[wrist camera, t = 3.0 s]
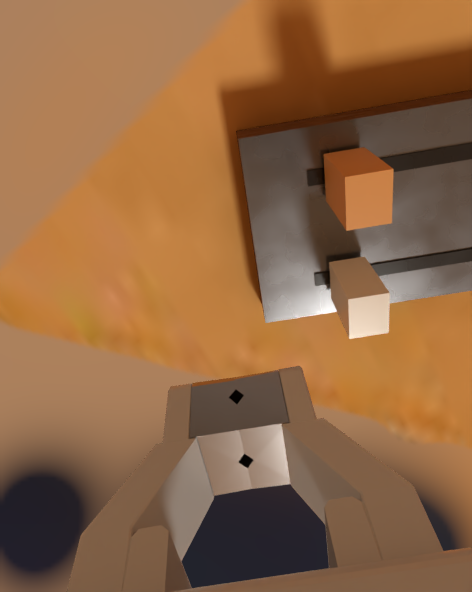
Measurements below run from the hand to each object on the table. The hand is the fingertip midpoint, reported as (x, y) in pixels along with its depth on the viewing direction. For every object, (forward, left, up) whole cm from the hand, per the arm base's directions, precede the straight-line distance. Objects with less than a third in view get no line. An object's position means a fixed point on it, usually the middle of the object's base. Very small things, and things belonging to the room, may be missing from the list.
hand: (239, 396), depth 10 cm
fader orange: (-6, 0, -14) cm, 16 cm away
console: (-10, +3, -17) cm, 20 cm away
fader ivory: (-6, +6, -14) cm, 17 cm away
